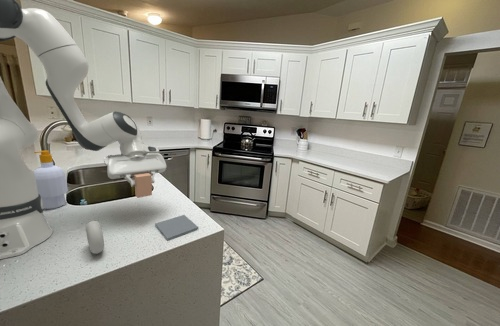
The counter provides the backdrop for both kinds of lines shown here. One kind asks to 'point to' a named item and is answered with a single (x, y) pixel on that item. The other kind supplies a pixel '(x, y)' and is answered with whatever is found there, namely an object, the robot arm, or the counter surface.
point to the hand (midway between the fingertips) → (143, 184)
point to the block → (143, 185)
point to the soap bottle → (50, 182)
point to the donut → (95, 237)
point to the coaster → (176, 227)
